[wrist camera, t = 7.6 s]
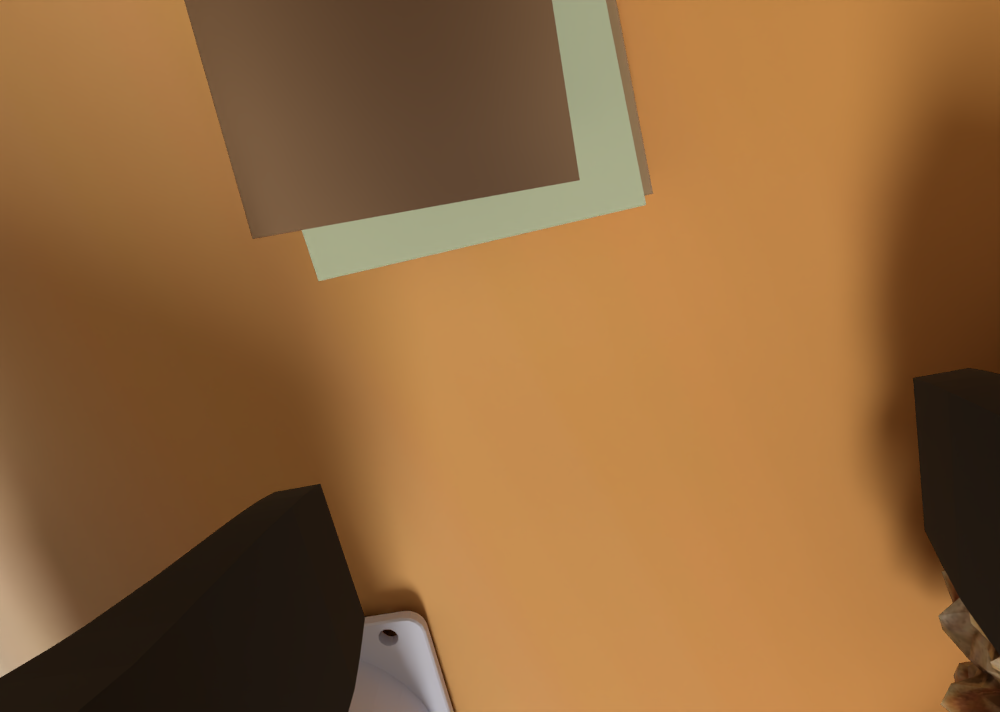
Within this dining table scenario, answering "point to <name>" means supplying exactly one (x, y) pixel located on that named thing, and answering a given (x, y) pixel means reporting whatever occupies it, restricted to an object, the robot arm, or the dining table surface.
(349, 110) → the walnut block
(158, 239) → the dining table surface
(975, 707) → the pine cone
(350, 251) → the slab top
